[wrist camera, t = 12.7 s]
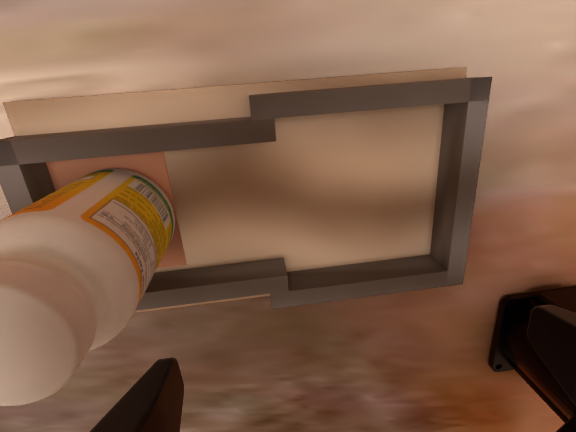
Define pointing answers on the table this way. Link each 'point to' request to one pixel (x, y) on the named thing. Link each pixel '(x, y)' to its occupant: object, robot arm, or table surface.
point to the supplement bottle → (75, 275)
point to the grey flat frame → (278, 180)
